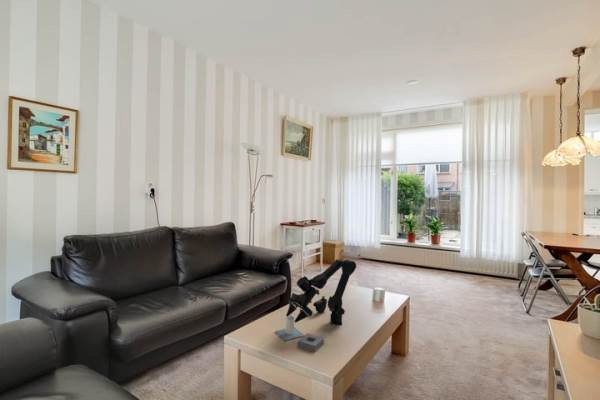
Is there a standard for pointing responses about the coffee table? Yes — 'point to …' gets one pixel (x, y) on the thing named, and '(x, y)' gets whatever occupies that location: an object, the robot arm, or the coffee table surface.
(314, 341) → the socket block
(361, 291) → the coffee table surface
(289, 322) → the plug
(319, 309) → the controller
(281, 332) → the mat
